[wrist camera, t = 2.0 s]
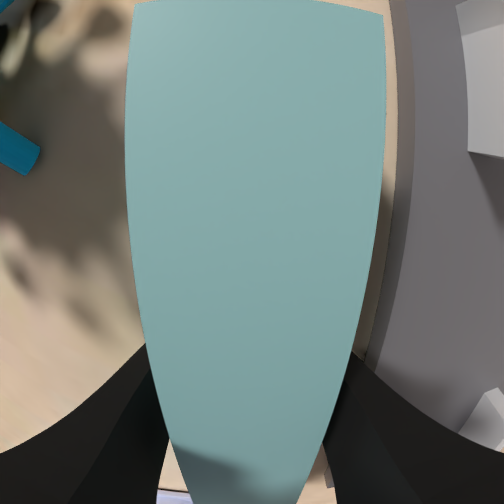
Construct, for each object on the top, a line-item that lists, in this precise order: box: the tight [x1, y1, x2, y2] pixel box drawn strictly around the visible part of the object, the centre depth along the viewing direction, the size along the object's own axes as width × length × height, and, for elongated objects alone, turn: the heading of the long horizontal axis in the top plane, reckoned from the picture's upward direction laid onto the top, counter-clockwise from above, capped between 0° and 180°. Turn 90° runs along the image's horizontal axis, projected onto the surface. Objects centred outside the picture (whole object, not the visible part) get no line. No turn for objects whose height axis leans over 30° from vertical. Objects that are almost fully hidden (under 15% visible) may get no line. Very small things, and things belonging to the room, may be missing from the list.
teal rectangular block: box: [125, 0, 386, 504], centre depth 8 cm, size 16×3×5 cm, turn 178°
